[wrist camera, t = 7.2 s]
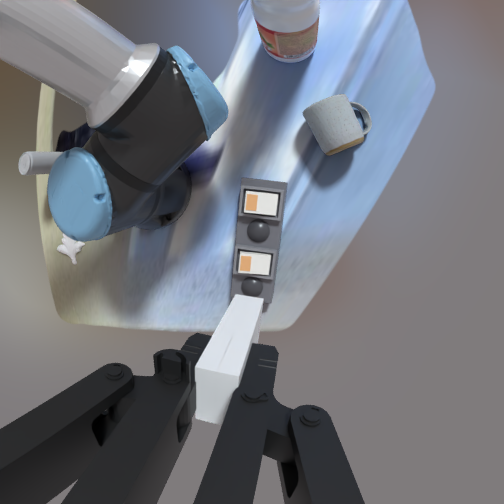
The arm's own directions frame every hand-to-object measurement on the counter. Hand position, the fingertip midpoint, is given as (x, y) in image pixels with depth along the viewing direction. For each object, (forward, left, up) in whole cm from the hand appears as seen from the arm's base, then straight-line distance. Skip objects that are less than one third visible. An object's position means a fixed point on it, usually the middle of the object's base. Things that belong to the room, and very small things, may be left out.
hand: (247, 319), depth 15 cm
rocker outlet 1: (-4, +4, -30) cm, 30 cm away
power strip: (-4, -3, -34) cm, 35 cm away
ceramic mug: (+7, +18, -35) cm, 40 cm away
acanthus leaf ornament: (-47, -10, -35) cm, 59 cm away
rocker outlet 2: (-4, -6, -30) cm, 31 cm away
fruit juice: (-2, +33, -35) cm, 48 cm away
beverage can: (-50, +9, -35) cm, 61 cm away
